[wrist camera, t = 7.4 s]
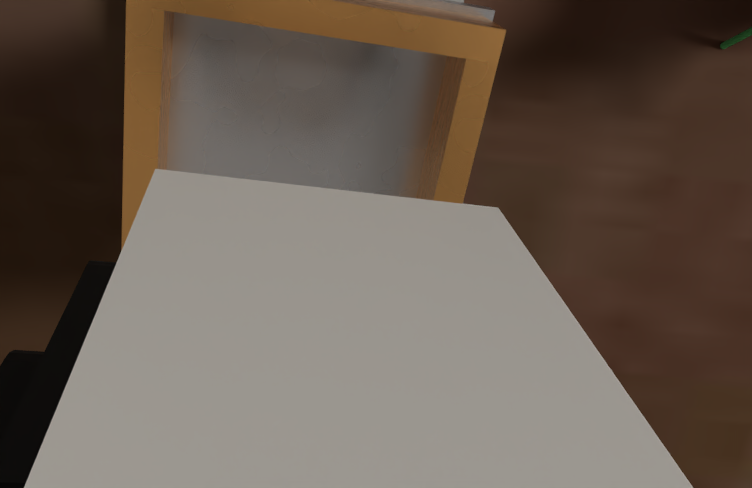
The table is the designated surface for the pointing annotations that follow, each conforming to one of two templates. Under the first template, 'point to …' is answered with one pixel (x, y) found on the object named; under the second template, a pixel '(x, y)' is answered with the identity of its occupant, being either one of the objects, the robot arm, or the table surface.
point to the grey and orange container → (308, 93)
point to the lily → (736, 38)
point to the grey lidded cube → (337, 354)
